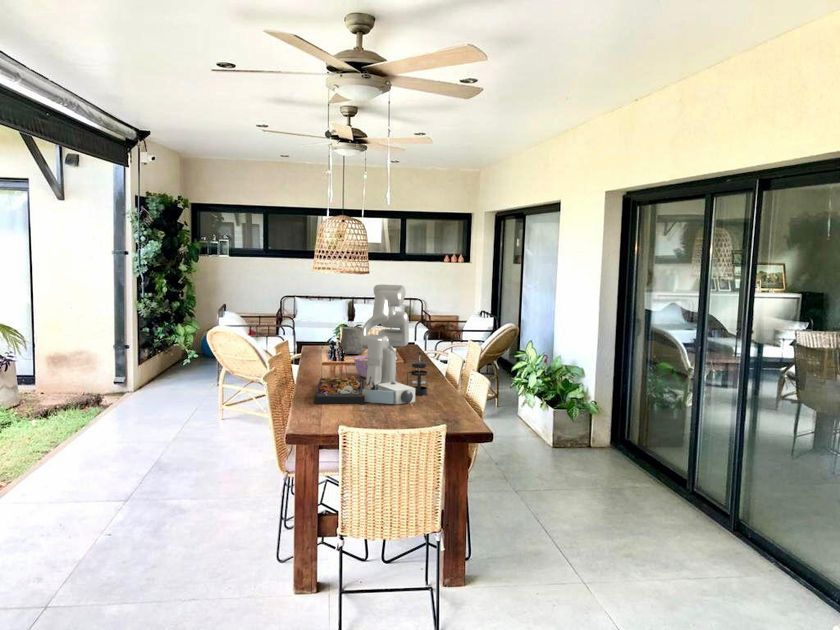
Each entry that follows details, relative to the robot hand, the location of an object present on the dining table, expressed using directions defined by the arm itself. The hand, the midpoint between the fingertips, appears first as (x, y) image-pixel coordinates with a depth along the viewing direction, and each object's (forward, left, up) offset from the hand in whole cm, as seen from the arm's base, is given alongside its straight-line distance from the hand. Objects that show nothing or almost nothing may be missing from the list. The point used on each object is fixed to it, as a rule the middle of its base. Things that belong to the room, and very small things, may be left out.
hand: (374, 397), depth 317 cm
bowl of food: (-55, +32, -2) cm, 64 cm away
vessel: (-134, +66, -2) cm, 149 cm away
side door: (+5, 0, -2) cm, 5 cm away
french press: (-4, +30, -2) cm, 30 cm away
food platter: (-23, -6, -3) cm, 24 cm away
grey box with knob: (+1, +12, -2) cm, 12 cm away
